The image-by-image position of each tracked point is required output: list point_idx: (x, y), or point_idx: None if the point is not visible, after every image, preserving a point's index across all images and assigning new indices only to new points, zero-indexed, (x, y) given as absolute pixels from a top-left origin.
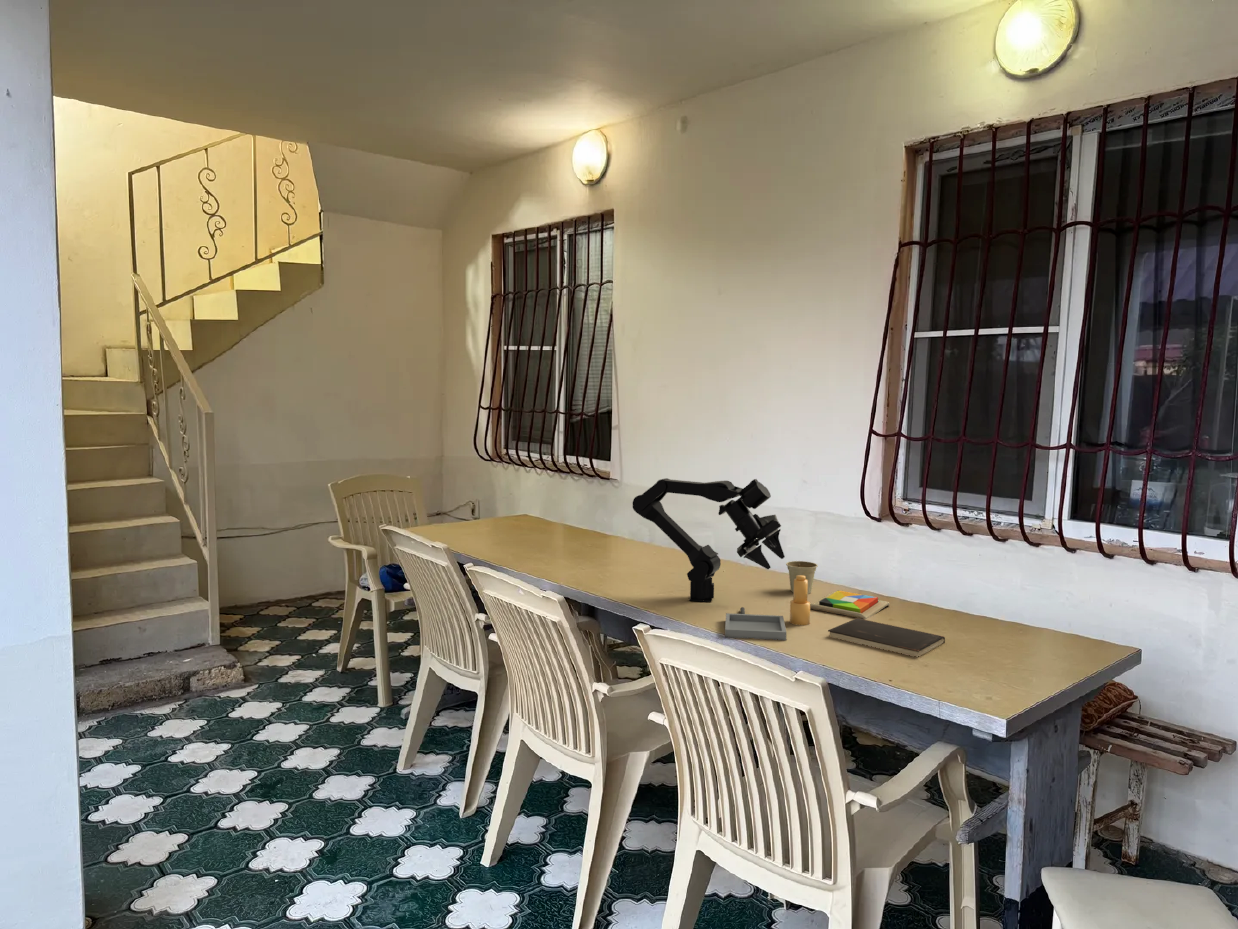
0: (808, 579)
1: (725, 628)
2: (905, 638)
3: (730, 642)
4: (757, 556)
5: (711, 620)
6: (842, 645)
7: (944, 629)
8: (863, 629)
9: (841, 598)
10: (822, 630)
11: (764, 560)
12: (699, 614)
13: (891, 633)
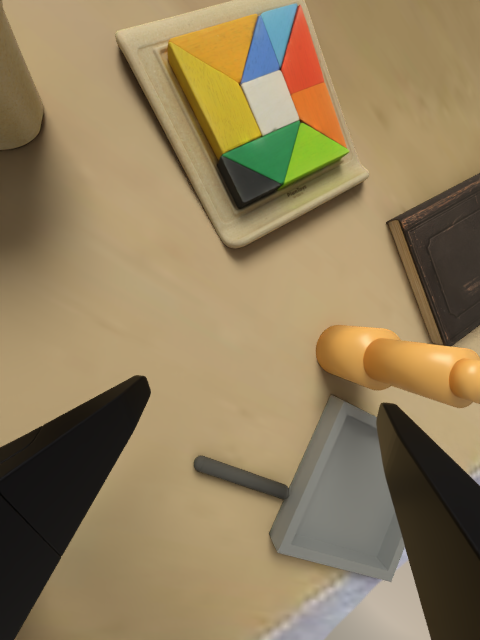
0: (16, 51)
1: (385, 579)
2: None
3: (402, 557)
4: (49, 517)
5: (254, 571)
6: (471, 348)
7: (462, 76)
8: (464, 272)
9: (251, 114)
10: (397, 331)
11: (100, 433)
12: (188, 597)
13: None
